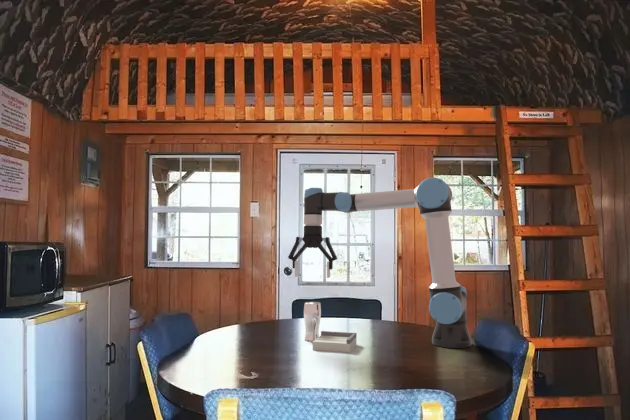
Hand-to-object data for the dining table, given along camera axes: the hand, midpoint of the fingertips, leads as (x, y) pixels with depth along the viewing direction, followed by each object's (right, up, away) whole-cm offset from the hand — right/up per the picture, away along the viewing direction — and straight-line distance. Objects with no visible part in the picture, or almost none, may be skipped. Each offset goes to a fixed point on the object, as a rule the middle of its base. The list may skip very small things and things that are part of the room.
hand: (312, 277), depth 212 cm
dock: (+9, -25, -15) cm, 30 cm away
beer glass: (0, -26, -1) cm, 26 cm away
